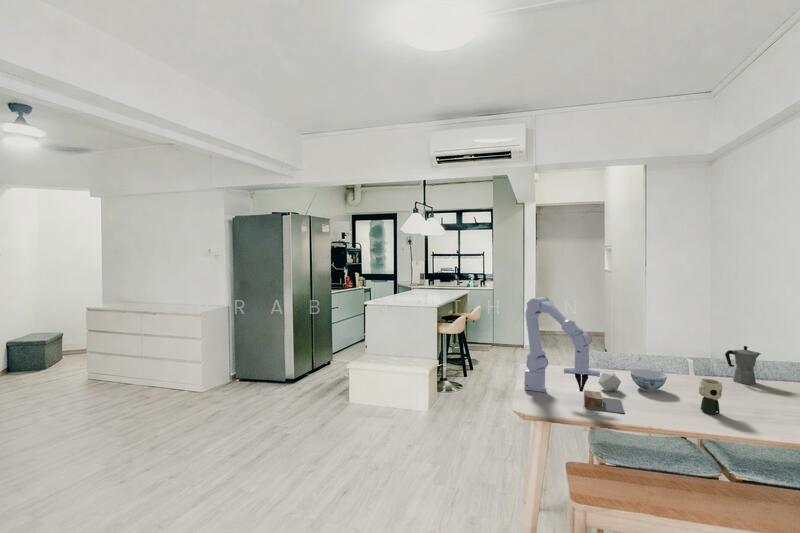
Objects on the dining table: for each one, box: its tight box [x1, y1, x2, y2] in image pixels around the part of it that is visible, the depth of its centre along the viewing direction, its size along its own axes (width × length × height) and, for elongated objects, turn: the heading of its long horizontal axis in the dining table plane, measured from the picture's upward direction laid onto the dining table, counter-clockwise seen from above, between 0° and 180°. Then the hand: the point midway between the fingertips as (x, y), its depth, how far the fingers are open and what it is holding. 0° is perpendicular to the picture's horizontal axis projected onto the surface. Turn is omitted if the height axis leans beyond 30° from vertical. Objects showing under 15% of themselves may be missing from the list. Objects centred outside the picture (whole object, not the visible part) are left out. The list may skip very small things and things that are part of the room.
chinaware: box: [629, 368, 668, 393], centre depth 202 cm, size 15×15×8 cm
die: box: [597, 372, 622, 392], centre depth 202 cm, size 8×9×10 cm
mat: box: [586, 396, 625, 415], centre depth 184 cm, size 14×16×1 cm
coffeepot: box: [724, 345, 761, 386], centre depth 212 cm, size 15×9×18 cm, turn 79°
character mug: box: [698, 378, 723, 415], centre depth 174 cm, size 11×7×13 cm, turn 101°
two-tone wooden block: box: [583, 389, 604, 407], centre depth 185 cm, size 4×9×7 cm
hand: (581, 390), depth 187 cm, fingers closed
